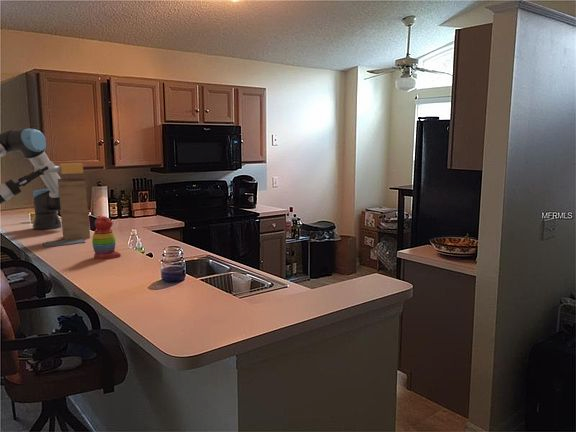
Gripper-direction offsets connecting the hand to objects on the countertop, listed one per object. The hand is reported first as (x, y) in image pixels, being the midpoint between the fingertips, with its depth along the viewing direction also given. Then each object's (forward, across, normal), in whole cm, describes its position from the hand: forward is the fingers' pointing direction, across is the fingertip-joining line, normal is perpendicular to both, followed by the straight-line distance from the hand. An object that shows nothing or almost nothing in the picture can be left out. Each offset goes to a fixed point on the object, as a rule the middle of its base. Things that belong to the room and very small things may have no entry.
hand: (53, 163), depth 238 cm
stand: (-13, 0, -38) cm, 40 cm away
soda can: (-9, -12, -40) cm, 43 cm away
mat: (-19, +10, -34) cm, 40 cm away
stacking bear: (-9, +52, -40) cm, 67 cm away
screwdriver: (0, 0, -6) cm, 6 cm away
